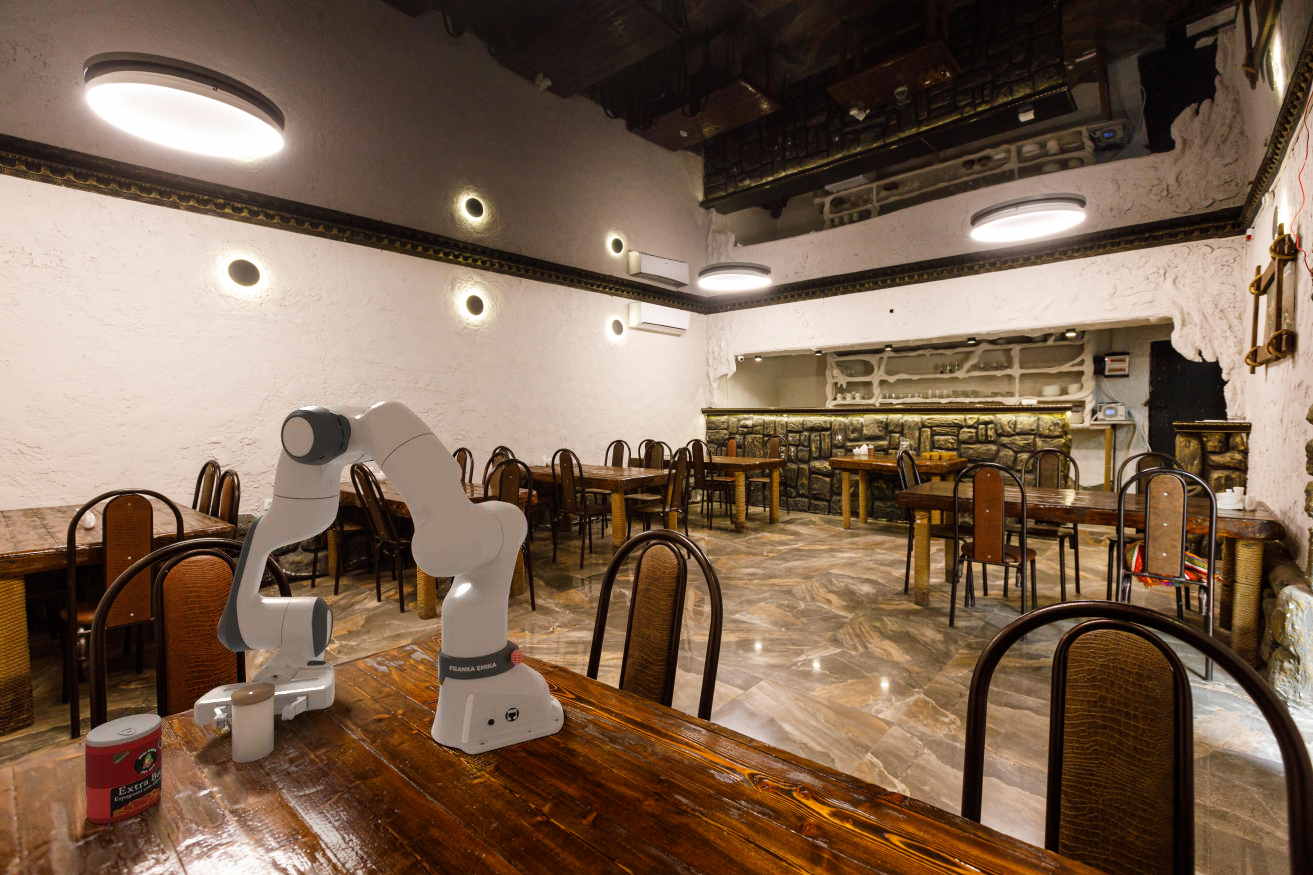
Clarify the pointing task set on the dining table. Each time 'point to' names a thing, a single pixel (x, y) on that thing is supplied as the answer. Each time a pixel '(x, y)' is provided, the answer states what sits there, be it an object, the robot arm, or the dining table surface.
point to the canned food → (123, 767)
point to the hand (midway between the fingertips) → (252, 719)
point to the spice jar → (252, 722)
